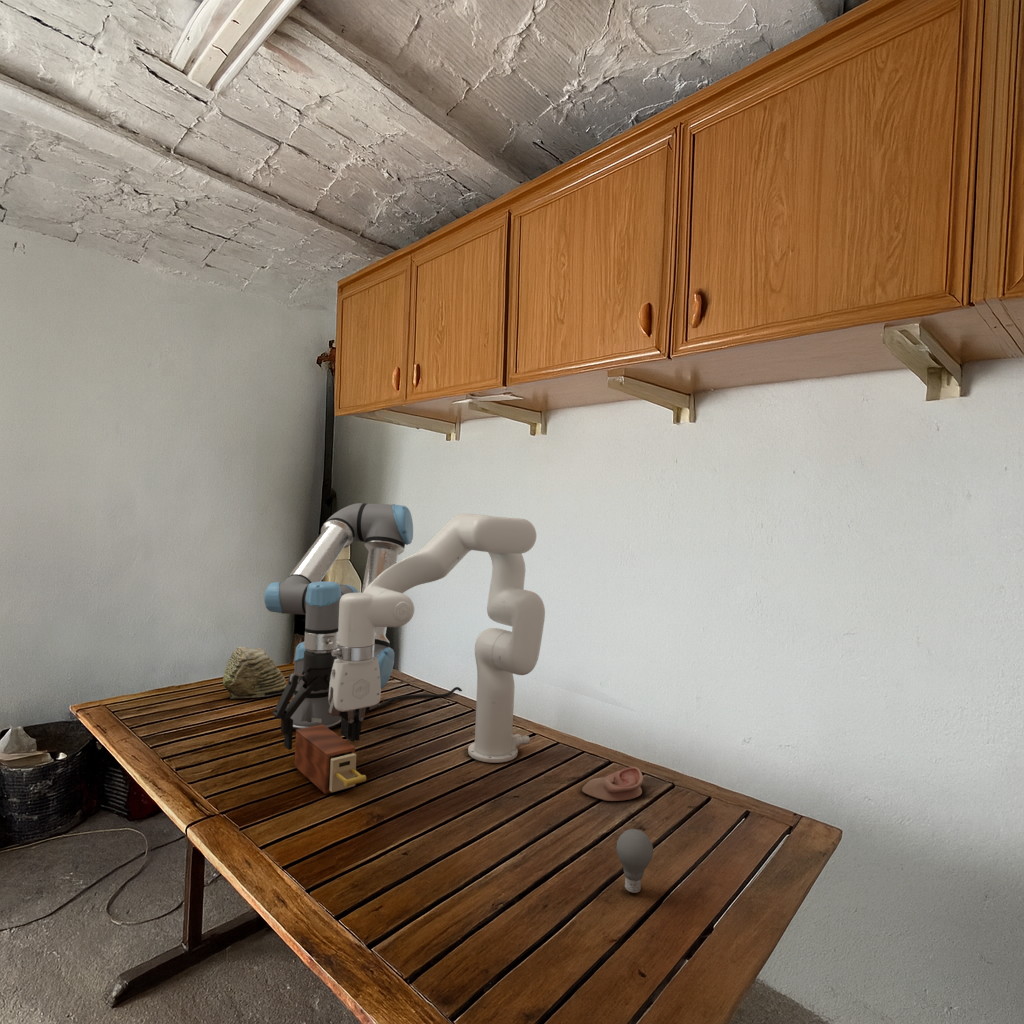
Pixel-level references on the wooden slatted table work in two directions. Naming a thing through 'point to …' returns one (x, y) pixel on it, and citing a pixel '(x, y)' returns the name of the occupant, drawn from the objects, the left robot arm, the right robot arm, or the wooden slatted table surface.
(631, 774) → the anatomical model
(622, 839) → the light bulb
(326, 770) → the cabinet
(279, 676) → the fossil
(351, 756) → the drawer
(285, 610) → the left robot arm
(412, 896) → the wooden slatted table surface
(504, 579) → the right robot arm
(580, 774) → the wooden slatted table surface
